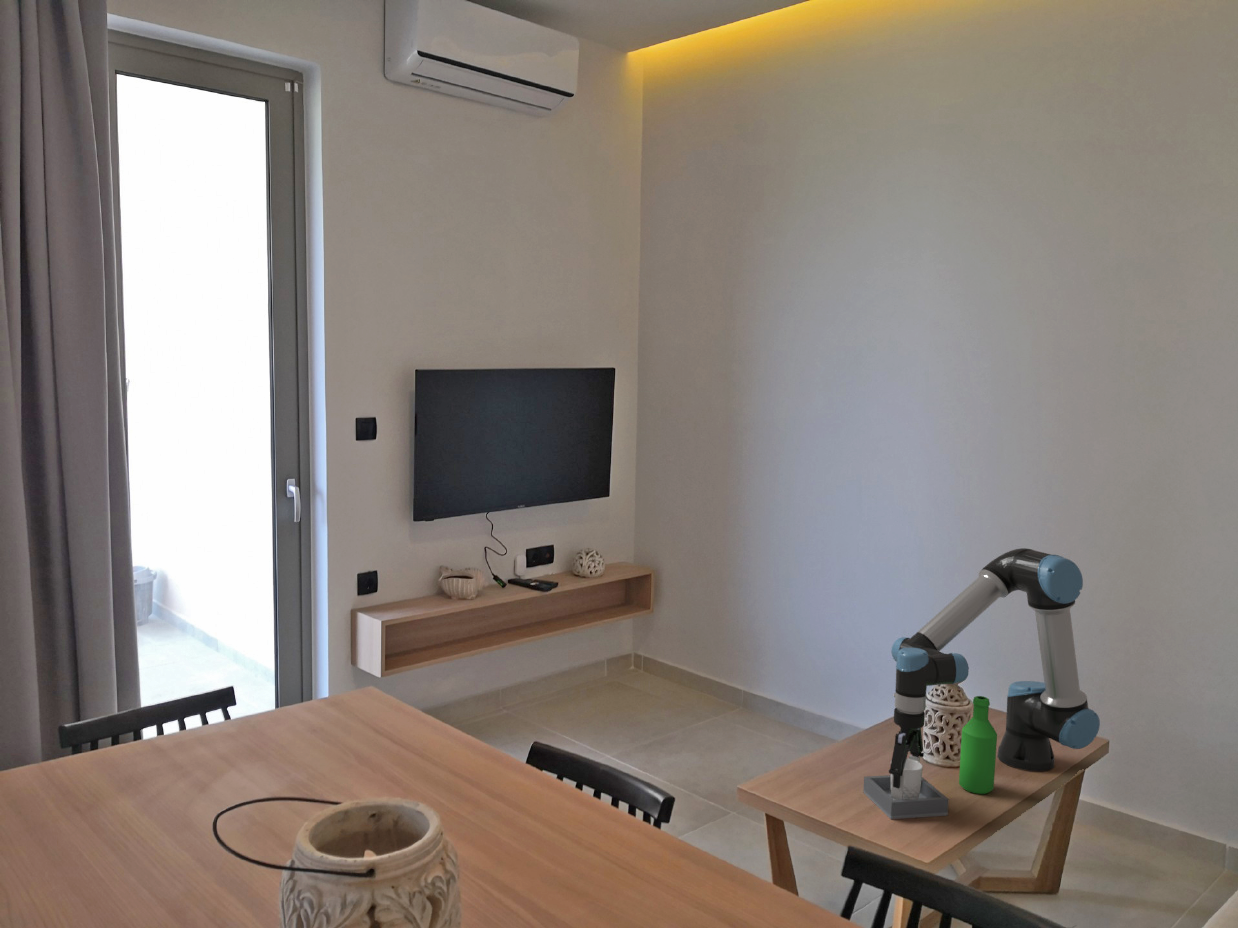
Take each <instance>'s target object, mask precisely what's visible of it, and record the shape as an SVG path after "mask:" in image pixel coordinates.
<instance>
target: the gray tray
mask: <svg viewBox="0 0 1238 928" xmlns="http://www.w3.org/2000/svg"><path fill="white" fill-rule="evenodd" d="M863 793H864V794H865V795H866V797H867V798H869V800H871V801H872V802H873V803H874V804H875V805H876V807H877V808H878V809H880V810H881V811H882V812H883V813H884V814H885V815H886V816H887V817H888V818H889V819H890V820H901V819H916V817H917V818H928V817H929V818H930V817H942V816H943V817H945V816H948V815H949V801H950V799H949V797H947V796H946V795H945V794H943V793H942V792H941V791H940V790H939V789H938V788H936V787H935V786H934V785H932V784H931V783H930V782H929V781H927V780H926V778H924V777H923V776H922V779H921V787H920V793H919V799H904V800H893V799H892V798H891V774H888V775H872V776H871V775H869V776H868V775H867V776H863Z"/></svg>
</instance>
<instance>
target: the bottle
mask: <svg viewBox="0 0 1238 928" xmlns="http://www.w3.org/2000/svg"><path fill="white" fill-rule="evenodd" d="M972 704H973V707H972V708H973V711H972V717H971V718H970V719H969V720H968V722H967V723H966V724H965V725H964V726H963V727H962V729H961V738H960V739H961V740H960V741H961V742H960V760H959V775H958V784H959V786H961V788H962V789H964V790H965V791H967V792H969V793H972V794H978V795H985V794H988V793H991V792H992V791H994V787H995V775H996V774H995V772H996V760H997V759H996V758H997V744H998V743H997V742H998V733H997V731H996V730H995V728H994V726H993V725H992V723H991V722H990V720H989V709H990V707H989V706H990V705H991V703H990V699H989V698H988V697H985V696H982V695H977V696H974V697H973V699H972Z"/></svg>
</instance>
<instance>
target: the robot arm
mask: <svg viewBox="0 0 1238 928" xmlns="http://www.w3.org/2000/svg"><path fill="white" fill-rule="evenodd" d="M1083 586H1084V579H1083V574H1082V572H1081V569H1080V567H1079V566H1078V565H1077V564H1076V563H1075V562H1074V561H1072V560H1070V558H1065V557H1064V556H1062V555H1058V554H1051V553H1046V552H1042V551H1038V550H1035V549H1030V548H1015V549H1012V550H1008V551H1007V552H1005V553H1003V554H1001V555H1000V556H997V557H996V558H994V559H993V560H991V561H990V562H989V563H988V564H986V565H985V566H984V567H982V568H981V570H979V572H978V577H977V578H975V580H974V581H973V582H972V583H971V584H969V585H968V586H967V587H965V589H964V590H963V591H962V592H960V594H958V595H957V596H956V597H955V598H953V600H952V601H950V602H949V603H948V604H947V605H946V606H945V607H944V608H942V610H940V611H939V612H938V613H937V614H935V616H934V617H932V618H931V619H930V620H929V621H927V622H926V624H925V625H923V626H922V627H921V628H920V629H919V630H918V631H917V632H916V633H915V634H913V635H912V636H911V637H906V636H902V637H899V638H897V639H896V640H895V641H894V642H893V644H892V646H891V650H890V651H891V656H892V659H893V660H894V661H895V662H896V664H895V693H893V694H892V697H894V707H895V708H894V709H893V722H894V723H895V725H896V726H899V728H900V730H899V731H898V733H896V734H895V735H894V736H895V738H894V739H895V740H894V747H893V752H892V756H891V760H890V769H888V774H889V775H891V774H892V790H891V798H893V799H897V800H903V784H904V775H903V770H904V767H905V763H906V759H912V760H915V761H917V762H919V763H921V758H924V755H925V753H924V752H923V751H924V746H923V745H924V744H923V737H922V736H923V735H922V728H923V727H924V725H925V717H926V712H925V711H926V706H927V705H926V703H927V702H926V701H927V699H926V698H927V688H928V686H929V687H930V686H938V685H939V686H941V685H954V684H958V683H963V682H965V681H966V680H967V678H968V676H969V671H970V670H969V664H968V661H967V659H966V658H965V656H964V655H962V654H961V653H953V652H950V653H944V652H941V651H942V650H943V649H945V647H946V646H947V645H948V644H949V643H951V642H952V641H953V640H954V639H955V638H956V637H957V636H958V635H960V633H961V632H963V631H964V630H965V629H966V628H967V627H969V626H970V624H972V623H973V622H974V621H975V620H976V619H977V618H979V616H980V615H981V614H983V613H984V612H985V611H986V610H987V609H988V608H989V607H990V606H991V605H993V604H994V603H995V602H996V601H997V600H999V598H1003V599H1004V598H1007V596H1008V595H1009V594H1010V593H1013V592H1015V591H1021V592H1024V593H1026V598H1027V605H1028V607H1029V608H1030V609H1032V610H1034V613H1035V620H1036V621H1035V622H1036V627H1037V636H1038V643H1039V651H1040V659H1041V666H1042V676H1043V682H1041V681H1033V680H1022V681H1021V680H1020V681H1019V680H1018V681H1014V682H1012V683H1011V684H1010V685H1009V686H1008V693H1007V695H1006V696H1007V697H1006V721H1005V722H1006V723H1005V733H1004V734H1003V736H1002V739H1001V740H1000V744H999V746H998V749H997V758H998V760H999V761H1000V762H1002V763H1003V764H1005V765H1007V766H1009V767H1012V768H1016V769H1018V770H1022V771H1023V770H1024V771H1029V772H1045V771H1050V770H1052V769H1054V767H1055V761H1056V760H1055V759H1056V758H1055V755H1054V751H1053V747H1052V743H1051V740H1052V741H1055V742H1057V743H1059V744H1061V745H1062V746H1064V747H1068V748H1071V749H1074V750H1081V749H1083V748H1085V747H1088V746H1089V745H1091V743H1092V742H1093V741H1094V740H1095V738H1096V737H1097V736H1098V733H1099V731H1100V728H1101V727H1100V726H1101V721H1100V717H1099V715H1098V713H1097V712H1095V710H1093V709H1091V708H1089V703H1088V702H1089V701H1088V696H1087V694H1086V693H1085V692H1083V691H1082V689H1080V679H1079V673H1078V664H1077V658H1076V657H1077V655H1076V648H1075V641H1074V633H1073V623H1072V616H1071V614H1072V613H1071V608H1072V607H1073V606H1075V605H1076V600H1077V599H1078V598H1079V596H1080V594H1081V592H1080V591H1082V589H1083ZM909 753H910V754H909ZM908 754H909V755H908ZM896 769H897V770H896Z"/></svg>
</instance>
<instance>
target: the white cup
mask: <svg viewBox="0 0 1238 928" xmlns="http://www.w3.org/2000/svg"><path fill="white" fill-rule="evenodd" d="M923 768H924V765H923V764H922V763H921V762H920V763H919V762H917V761H915V760H912V759H909V758H907V759H906V763H905V767H904V770H903V775H904V784H903V800H904V799H919V793H920V787H921V779H922V777H923ZM896 770H897V769H896ZM890 775H891V790H892V774H890ZM892 799H893V798H892ZM893 800H897V799H893Z"/></svg>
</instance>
